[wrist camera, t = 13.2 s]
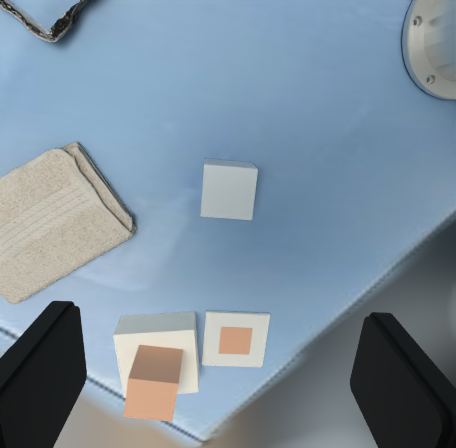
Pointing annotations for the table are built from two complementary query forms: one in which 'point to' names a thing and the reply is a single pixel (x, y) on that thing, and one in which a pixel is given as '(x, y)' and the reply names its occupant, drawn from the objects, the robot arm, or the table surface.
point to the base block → (159, 343)
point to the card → (235, 338)
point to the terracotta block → (153, 383)
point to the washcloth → (55, 220)
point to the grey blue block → (228, 189)
